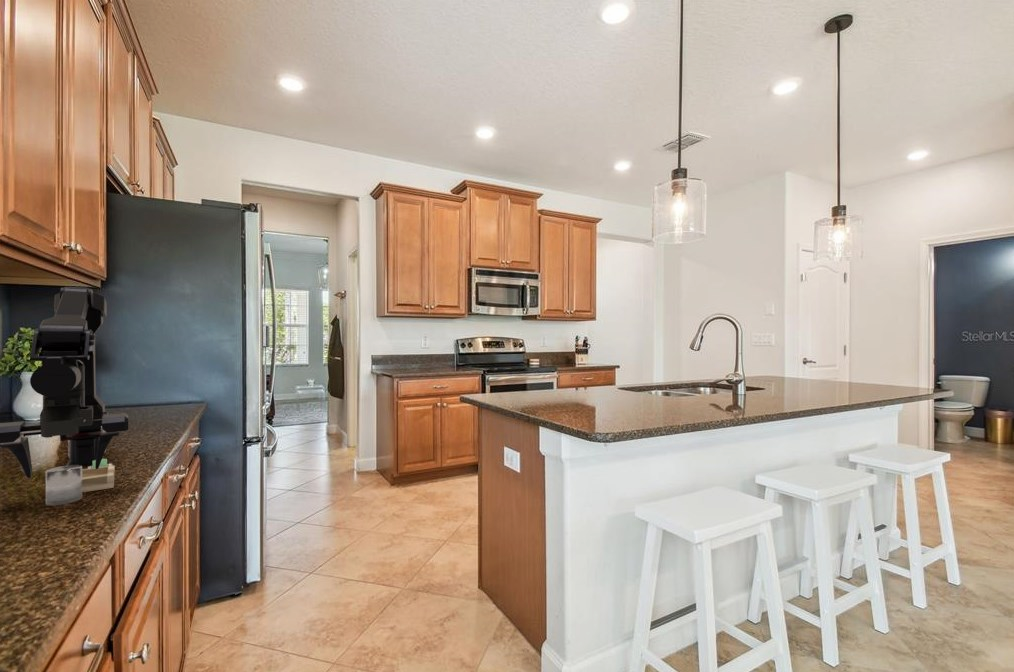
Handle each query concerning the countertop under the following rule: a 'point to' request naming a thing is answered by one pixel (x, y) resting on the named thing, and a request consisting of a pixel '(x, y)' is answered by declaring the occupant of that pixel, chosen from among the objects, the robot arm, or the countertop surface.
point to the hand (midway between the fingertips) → (64, 473)
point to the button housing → (92, 466)
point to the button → (102, 464)
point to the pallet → (97, 478)
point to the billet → (63, 484)
